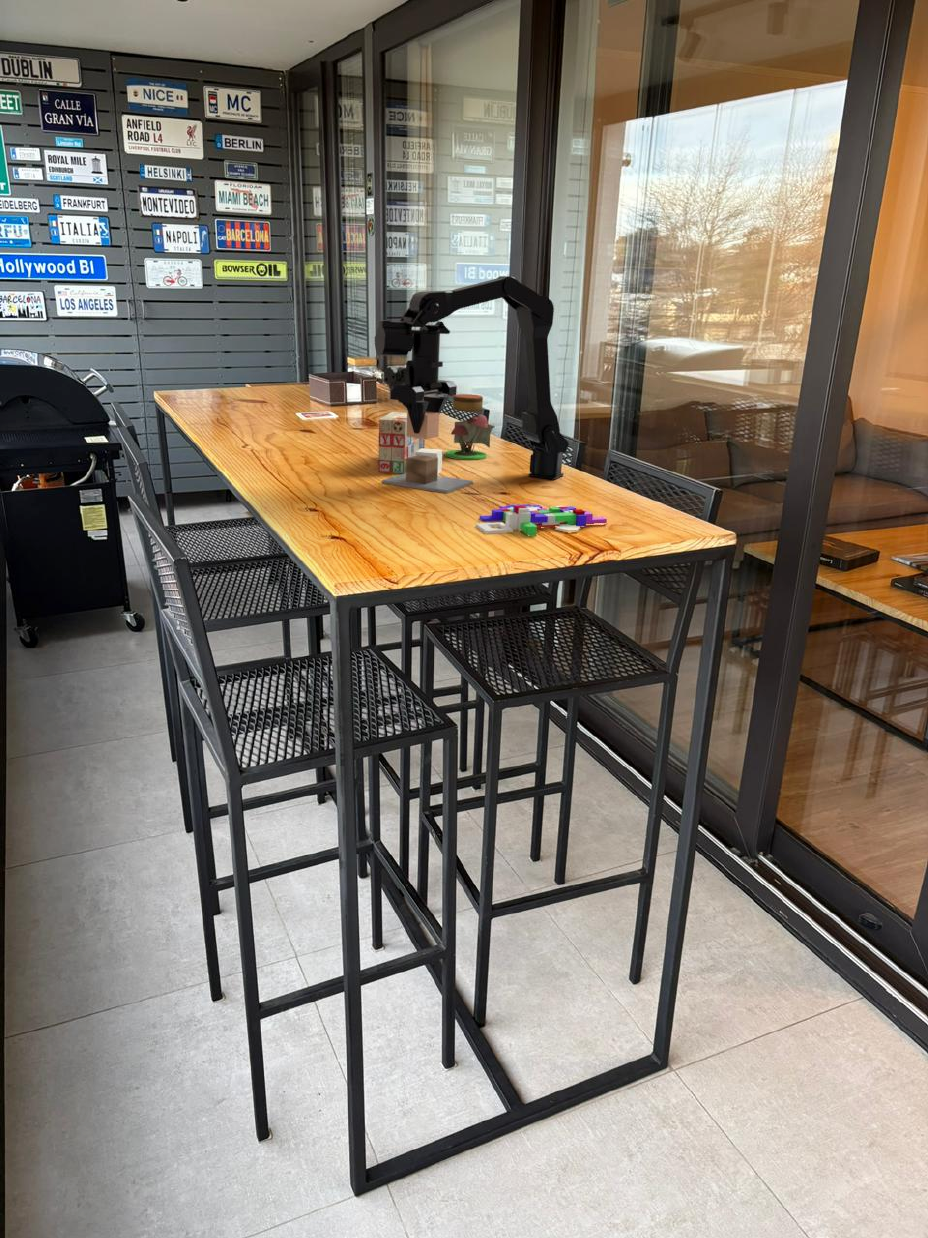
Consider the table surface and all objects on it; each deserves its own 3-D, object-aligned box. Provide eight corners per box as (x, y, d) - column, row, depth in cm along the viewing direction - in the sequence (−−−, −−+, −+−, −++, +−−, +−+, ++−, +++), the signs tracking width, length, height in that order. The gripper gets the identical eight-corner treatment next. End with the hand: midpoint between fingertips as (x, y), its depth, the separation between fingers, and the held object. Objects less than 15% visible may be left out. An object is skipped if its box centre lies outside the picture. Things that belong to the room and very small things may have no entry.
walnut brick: (437, 480, 197) (437, 457, 196) (425, 484, 193) (426, 460, 191) (417, 477, 199) (417, 454, 198) (405, 481, 195) (406, 458, 193)
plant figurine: (484, 462, 222) (487, 400, 217) (436, 457, 226) (438, 396, 221) (498, 454, 233) (501, 395, 228) (452, 450, 237) (454, 391, 231)
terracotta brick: (438, 436, 194) (439, 412, 192) (426, 439, 190) (427, 415, 188) (418, 433, 196) (418, 410, 194) (406, 436, 192) (407, 412, 190)
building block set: (569, 507, 183) (571, 486, 182) (618, 534, 165) (621, 510, 164) (453, 513, 175) (454, 490, 174) (491, 541, 157) (492, 516, 156)
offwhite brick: (441, 471, 210) (442, 449, 209) (436, 475, 206) (436, 453, 204) (420, 469, 211) (421, 448, 210) (415, 473, 207) (415, 451, 205)
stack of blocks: (400, 456, 226) (401, 406, 222) (424, 458, 225) (426, 408, 221) (377, 472, 206) (378, 418, 202) (404, 474, 205) (405, 419, 201)
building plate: (472, 483, 199) (472, 480, 198) (447, 493, 189) (447, 490, 188) (410, 474, 205) (410, 471, 205) (381, 483, 195) (381, 480, 195)
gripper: (414, 351, 198) (412, 423, 204) (368, 354, 183) (367, 432, 188) (459, 355, 194) (455, 428, 199) (415, 359, 178) (413, 438, 184)
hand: (422, 431), depth 193 cm, fingers closed on terracotta brick, 5 cm apart
